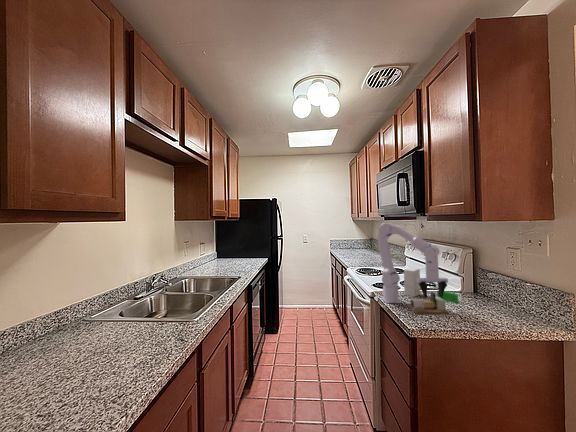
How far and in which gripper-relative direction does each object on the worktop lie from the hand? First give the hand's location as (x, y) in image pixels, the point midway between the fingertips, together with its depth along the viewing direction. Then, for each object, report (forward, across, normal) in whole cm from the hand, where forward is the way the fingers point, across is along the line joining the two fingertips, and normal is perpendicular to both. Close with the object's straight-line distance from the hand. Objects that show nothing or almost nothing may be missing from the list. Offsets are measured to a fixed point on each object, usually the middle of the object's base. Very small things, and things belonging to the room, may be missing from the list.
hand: (432, 296), depth 138 cm
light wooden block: (+5, -1, 0) cm, 5 cm away
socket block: (+5, +2, 0) cm, 6 cm away
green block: (+7, +16, +16) cm, 24 cm away
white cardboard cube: (+5, -8, 0) cm, 9 cm away
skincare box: (+7, +1, +28) cm, 29 cm away
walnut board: (+6, -3, 0) cm, 7 cm away
